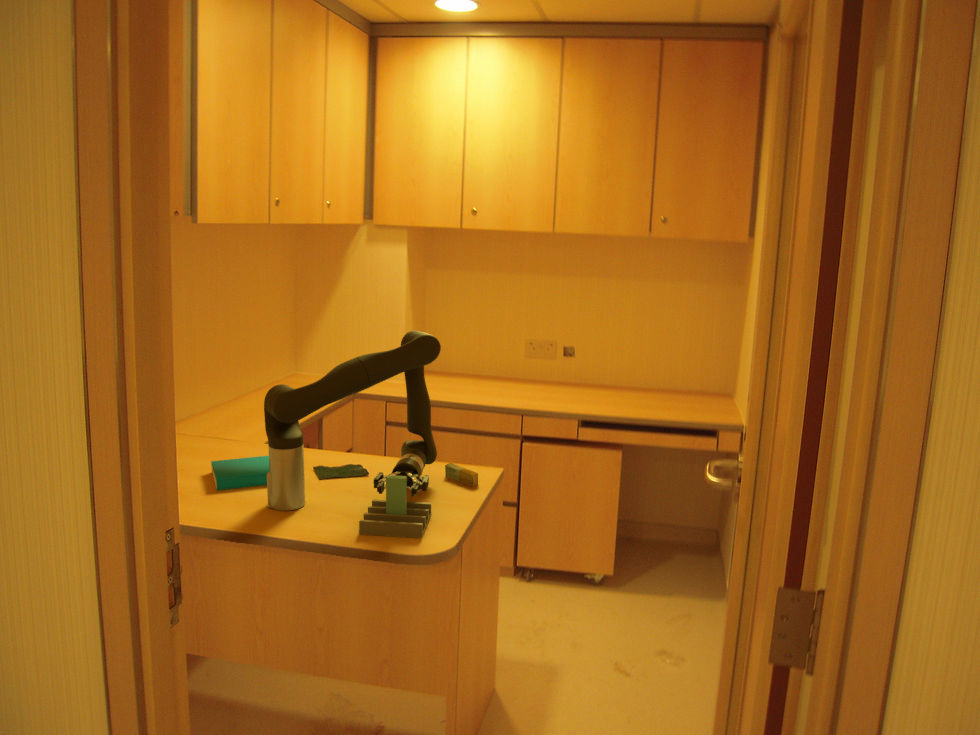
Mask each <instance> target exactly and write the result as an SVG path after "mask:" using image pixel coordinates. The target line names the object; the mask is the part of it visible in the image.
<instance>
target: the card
mask: <svg viewBox="0 0 980 735" xmlns="http://www.w3.org/2000/svg"><path fill="white" fill-rule="evenodd" d="M386 475H387V477H386V482H385V485H386V489H385V500H386V514H396V515H407V502H408V498H407V495H408V494H407V493H408V492H407V490H408V489H407V476H394V475H389V474H386Z"/></svg>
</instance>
